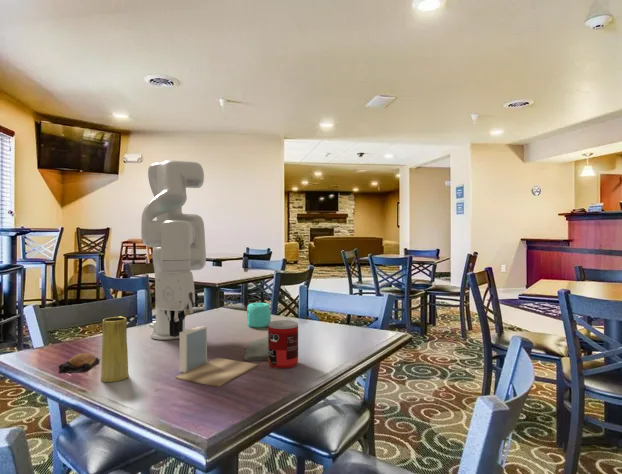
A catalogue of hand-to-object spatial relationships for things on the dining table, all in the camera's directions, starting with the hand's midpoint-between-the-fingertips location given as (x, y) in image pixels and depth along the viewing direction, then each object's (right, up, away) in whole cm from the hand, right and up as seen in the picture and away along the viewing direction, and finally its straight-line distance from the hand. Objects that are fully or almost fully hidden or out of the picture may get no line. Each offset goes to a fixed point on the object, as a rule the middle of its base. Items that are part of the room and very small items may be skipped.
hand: (176, 335), depth 106 cm
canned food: (+29, -8, 0) cm, 30 cm away
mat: (+13, -8, -6) cm, 16 cm away
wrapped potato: (-25, -9, -1) cm, 27 cm away
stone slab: (+21, -8, +14) cm, 27 cm away
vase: (-11, -8, -10) cm, 17 cm away
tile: (+5, -8, -2) cm, 10 cm away
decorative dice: (+16, -8, +46) cm, 49 cm away
